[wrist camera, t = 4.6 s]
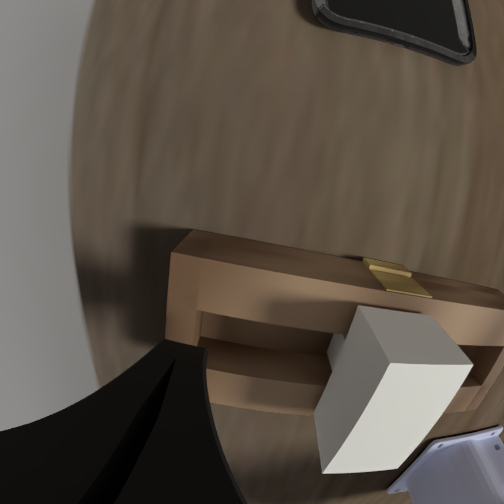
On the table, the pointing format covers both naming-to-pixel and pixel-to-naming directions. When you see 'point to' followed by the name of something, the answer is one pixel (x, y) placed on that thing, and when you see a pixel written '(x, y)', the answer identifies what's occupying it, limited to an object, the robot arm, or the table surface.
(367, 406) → the block
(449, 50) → the phone
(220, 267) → the brown wooden frame
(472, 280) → the table surface
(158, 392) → the robot arm
